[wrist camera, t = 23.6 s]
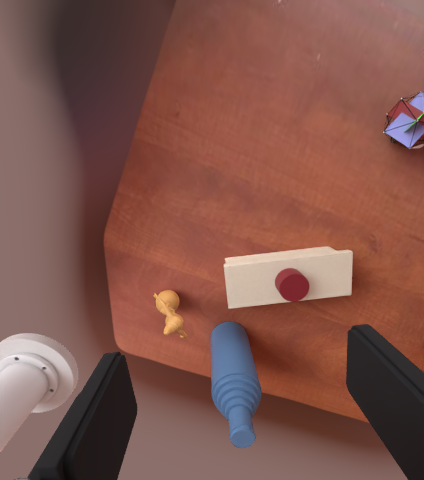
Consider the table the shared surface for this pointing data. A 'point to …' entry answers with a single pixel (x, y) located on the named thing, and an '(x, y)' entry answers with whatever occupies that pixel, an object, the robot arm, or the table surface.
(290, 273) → the cap
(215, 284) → the table surface
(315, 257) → the cream lidded box
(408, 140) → the geometric puzzle
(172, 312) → the figurine
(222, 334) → the bottle
